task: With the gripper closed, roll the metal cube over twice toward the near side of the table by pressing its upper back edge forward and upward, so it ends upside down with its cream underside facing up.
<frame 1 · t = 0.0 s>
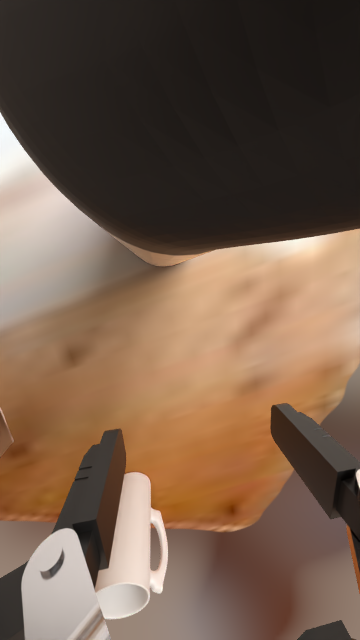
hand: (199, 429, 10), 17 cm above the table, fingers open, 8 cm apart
mug: (141, 486, 33), on the table
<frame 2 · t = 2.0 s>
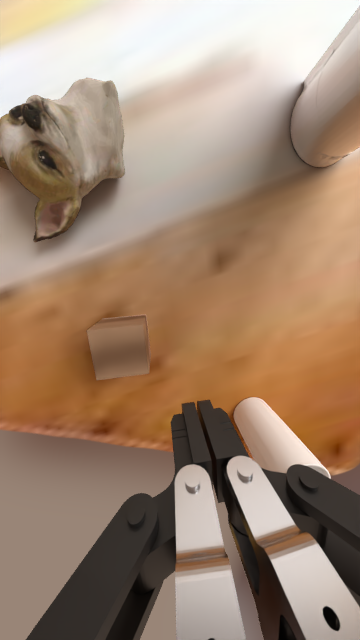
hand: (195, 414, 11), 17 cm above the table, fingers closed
mug: (256, 415, 33), on the table
ceramic sculpture: (74, 177, 22), on the table
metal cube: (127, 336, 27), on the table
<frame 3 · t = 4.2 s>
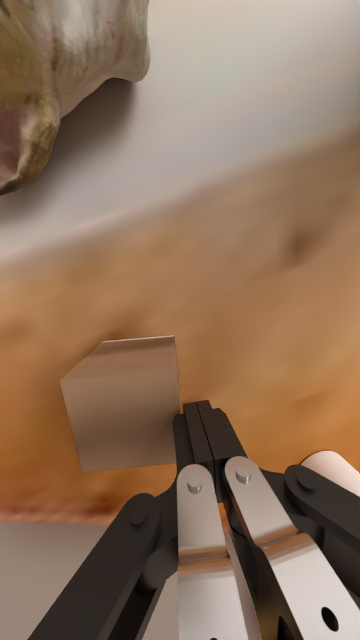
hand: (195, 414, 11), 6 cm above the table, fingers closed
mug: (325, 473, 23), on the table
ceramic sculpture: (52, 86, 12), on the table
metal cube: (143, 370, 16), on the table, tilted 5°, touching gripper
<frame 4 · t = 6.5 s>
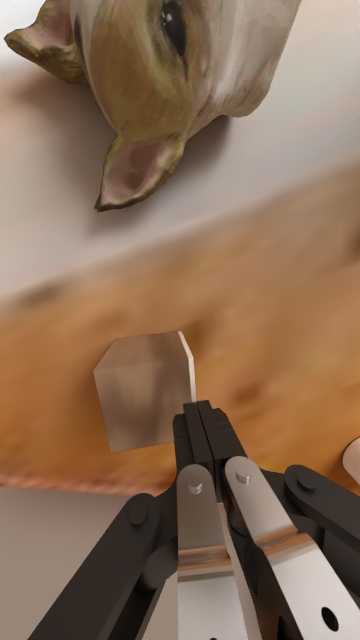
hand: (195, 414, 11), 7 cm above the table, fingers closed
ceramic sculpture: (161, 116, 14), on the table
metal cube: (188, 376, 15), point 3 cm above the table, tilted 90°
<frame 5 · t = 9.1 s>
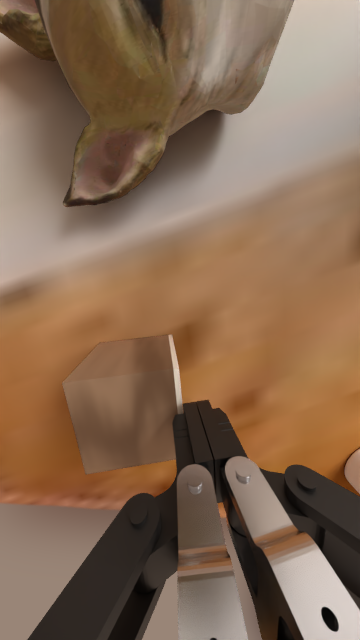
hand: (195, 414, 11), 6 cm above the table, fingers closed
ceramic sculpture: (148, 107, 12), on the table
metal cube: (178, 385, 13), point 3 cm above the table, tilted 91°, touching gripper
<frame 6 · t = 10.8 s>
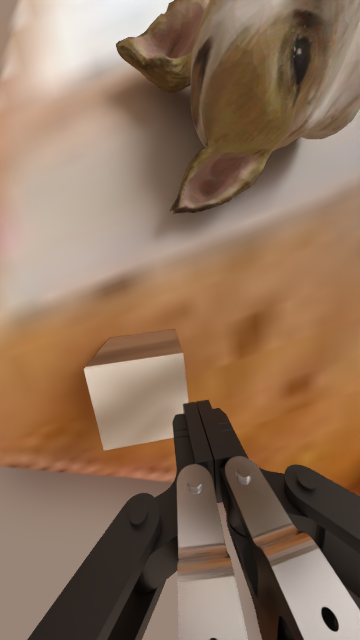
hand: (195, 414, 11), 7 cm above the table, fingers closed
ceramic sculpture: (236, 129, 15), on the table
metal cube: (142, 404, 12), point 6 cm above the table, tilted 180°
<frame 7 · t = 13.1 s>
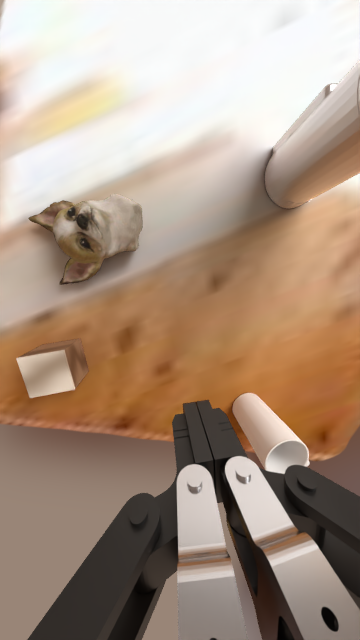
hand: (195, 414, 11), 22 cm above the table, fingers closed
mug: (252, 408, 38), on the table
ceramic sculpture: (100, 240, 29), on the table
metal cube: (46, 374, 26), point 6 cm above the table, tilted 180°
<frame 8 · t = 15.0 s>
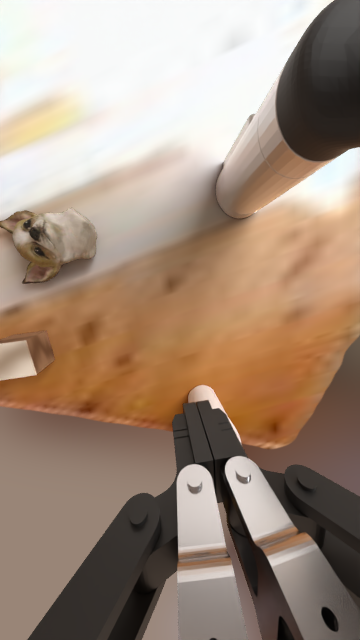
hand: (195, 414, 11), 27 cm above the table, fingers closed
mug: (206, 399, 42), on the table
ceramic sculpture: (62, 245, 32), on the table
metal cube: (10, 361, 29), point 6 cm above the table, tilted 180°
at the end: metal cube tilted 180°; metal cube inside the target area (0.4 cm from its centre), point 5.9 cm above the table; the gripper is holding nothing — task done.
